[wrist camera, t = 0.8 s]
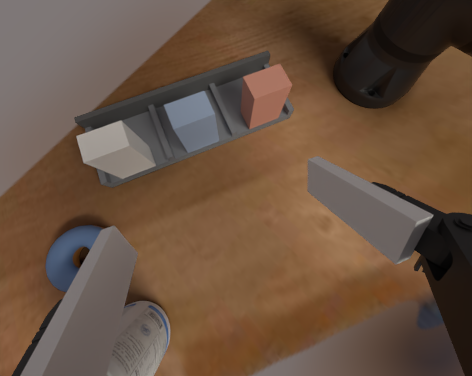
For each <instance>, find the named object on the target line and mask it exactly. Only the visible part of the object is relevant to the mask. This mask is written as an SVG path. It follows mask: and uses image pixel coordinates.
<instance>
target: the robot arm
mask: <svg viewBox="0 0 472 376" xmlns="http://www.w3.org/2000/svg"><path fill="white" fill-rule="evenodd" d="M450 46H453V47H455V48H457V49H459V50H461V51H462V52H464V53H466V54H468V55H470V56H472V0H389V1H388V2H387V4H386V5H385V6H384V8H383V9H382V11H381V12H380V14H379V15H378V17H377V18H376V19H375V21H374V22H373V23H372V24H371V25H370V26H369V27H368V28H367V29H365V30H364V31H363V32H362V33H361V34H360V35H359V36H358V37H357V38H356V39H355V40H353V41H352V42H351V43H350V44H349V45H348V46H347V47H346V48H345V49H344V50H343V52H342V53H341V55H340V56H339V58H338V60H337V61H336V63H335V66H334V72H333V74H334V80H335V83H336V85H337V87H338V89H339V90H340V92H341V93H342V94H343V95H344V96H345V97H346V98H347V99H349V100H350V101H352V102H353V103H355V104H357V105H360V106H363V107H367V108H383V107H387V106H389V105H391V104H393V103H394V102H396V101H397V100H399V99H400V98H401V97H402V96H404V95H405V94H406V93H407V92H408V91H409V90H410V89H411V87H412V86H413V85H414V83H415V82H416V81H417V79H418V78H419V77H420V76H421V74H422V73H423V72H424V70H425V69H426V68H427V66H428V65H429V64H430V62H431V61H432V60H433V59H435V58H436V57H437V56H438V55H440V54H441V53H442V52H443V51H444V50H446V49H447V48H448V47H450ZM308 192H309V193H310V194H311V195H312V196H314V197H315V198H316V199H317V200H318V201H320V202H321V203H322V204H323V205H325V206H326V207H327V208H328V209H329V210H331V211H332V212H333V213H334V214H335V215H337V216H338V217H339V218H340V219H341V220H343V221H344V222H345V223H346V224H347V225H349V226H350V227H351V228H352V229H354V230H355V231H356V232H357V233H358V234H360V235H361V236H362V237H363V238H364V239H366V240H367V241H368V242H369V243H370V244H372V245H373V246H374V247H375V248H376V249H378V250H379V251H380V252H381V253H383V254H384V255H385V256H386V257H387V258H389V259H390V260H391V261H392V262H393V263H395V264H398V263H401V262H403V261H405V260H407V259H410V257H411V255H412V254H413V252H414V250H415V251H417V252H418V253H420V254H421V255H420V257H419V259H418V261H417V262H416V264H415V266H414V271H418V270H419V268H420V267H421V265H422V267H423V271H422V272H424V273H425V275H426V277H427V280H428V282H429V285H430V287H431V290H432V293H433V295H434V298H435V300H436V303H437V305H438V308H439V310H440V313H441V316H442V318H443V321H444V323H445V326H446V328H447V331H448V333H449V336H450V338H451V341H452V344H453V346H454V349H455V351H456V354H457V357H458V359H459V362H460V364H461V367H462V369H463V372H464V374H465V376H472V215H471V214H465V213H449V214H445V213H443V212H441V211H439V210H437V209H434V208H432V207H430V206H428V205H426V204H424V203H422V202H420V201H418V200H416V199H414V198H412V197H410V196H406V195H405V194H403V193H401V192H399V191H398V192H397V191H396V190H395V189H393V188H391V187H389V186H387V185H383V184H379V183H376V182H372V183H370V182H368V181H366V180H364V179H362V178H360V177H358V176H356V175H354V174H352V173H350V172H348V171H346V170H344V169H342V168H340V167H338V166H336V165H334V164H332V163H330V162H328V161H326V160H325V159H323V158H321V157H319V156H317V157H314V158H311V159H308ZM137 255H138V253H137V251H136V250H135V249H134V248H133V247H132V246H131V244H130V243H129V242H128V241H127V240H126V239H125V237H124V236H123V235H122V234H121V233H120V232H119V230H118V229H117V228H116V227H115V226H111V227H108V228H105V229H103V230H101V231H100V233H99V235H98V237H97V239H96V240H95V242H94V244H93V246H92V248H91V249H90V251H89V253H88V255H87V257H86V258H85V260H84V262H83V264H82V266H81V267H80V269H79V271H78V273H77V275H76V276H75V278H74V280H73V282H72V284H71V285H70V287H69V289H68V291H67V293H66V294H65V296H64V298H63V299H61V300H59V302H58V303H57V304H56V305H55V306H54V307H53V309H52V310H51V311H50V312H49V313H48V315H47V316H46V318H45V320H44V321H43V323H42V325H41V327H40V328H39V332H37V333H36V335H35V337H34V338H33V340H32V344H31V345H29V347H28V349H27V350H26V352H25V354H24V356H23V357H22V359H21V361H20V362H19V364H18V366H17V368H16V369H15V371H14V373H13V374H12V376H106V375H107V371H108V367H109V363H110V360H111V356H112V352H113V348H114V344H115V340H116V336H117V333H118V329H119V325H120V321H121V317H122V313H123V309H124V305H125V302H126V298H127V294H128V290H129V286H130V282H131V278H132V274H133V271H134V267H135V263H136V259H137Z"/></svg>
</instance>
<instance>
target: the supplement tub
mask: <svg viewBox="0 0 472 376" xmlns="http://www.w3.org/2000/svg"><path fill="white" fill-rule="evenodd" d="M169 340H170V324H169V320H168V317H167V315H166V314H165V312H164V311H163V310H162V308H160V307H159V306H158V305H157V304H155V303H152V302H149V301H137V302H133V303H130V304H128V305H126V306H124V309H123V313H122V317H121V321H120V325H119V329H118V333H117V336H116V340H115V344H114V348H113V352H112V356H111V360H110V363H109V367H108V371H107V375H106V376H154V374H155V372H156V370H157V368H158V366H159V364H160V362H161V360H162V358H163V356H164V354H165V352H166V350H167V347H168V344H169Z"/></svg>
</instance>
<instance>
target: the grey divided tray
mask: <svg viewBox="0 0 472 376" xmlns="http://www.w3.org/2000/svg"><path fill="white" fill-rule="evenodd" d="M269 58H270V53H269V52H268V51H265V52H263V53H260V54H257V55H254V56H251V57H248V58H245V59H242V60H239V61H237V62H234V63H231V64H228V65H225V66H222V67H219V68H216V69H213V70H211V71H208V72H205V73H202V74H199V75H196V76H193V77H190V78H187V79H185V80H182V81H179V82H176V83H173V84H170V85H167V86H164V87H161V88H158V89H156V90H153V91H150V92H147V93H144V94H141V95H138V96H135V97H132V98H130V99H127V100H124V101H121V102H118V103H115V104H112V105H109V106H106V107H104V108H101V109H98V110H95V111H92V112H89V113H86V114H83V115H81V116H78V117H75V122H76V123H77V124H79V125H80V126H82V127H83V128H85V131H86V133H87V132H90V131H92V130H95V129H98V128H101V127H104V126H106V125H109V124H112V123H115V122H118V121H120V120H121V121H122V122H123V123H125V124H126V125H127V126H128V127H129V128H130V129H131V130H132V131H133V132H134V133H135V134H136V135H137V136H139V137H140V138H141V139H142V140H143V141H144V142H145V143H146V144H147V145H148V146H149V148H150V150H151V153H152V156H153V159H154V161H155V164H156V166H154V167H152V168H149V169H147V170H144V171H141V172H139V173H136V174H134V175H131V176H129V177H126V178H124V179H122V178H119V177H117V176H114V175H112V174H110V173H107V172H105V171H102V170H100V169H97V168H96V169H97V172H98V176H99V179H100V182H101V184H102V185H105V186H108V187H115V186H118V185H120V184H123V183H125V182H128V181H130V180H133V179H135V178H138V177H140V176H143V175H146V174H148V173H151V172H153V171H156V170H158V169H161V168H163V167H166V166H168V165H171V164H174V163H176V162H179V161H181V160H184V159H186V158H189V157H191V156H194V155H196V154H199V153H202V152H204V151H207V150H209V149H212V148H214V147H217V146H219V145H222V144H224V143H227V142H230V141H232V140H235V139H237V138H240V137H242V136H245V135H247V134H250V133H252V132H255V131H257V130H260V129H263V128H265V127H268V126H270V125H273V124H275V123H278V122H280V121H283V120H285V119H288V118H290V116H291V114H292V112H293V110H294V108H293V107H292V105H291V103H290V101H289V99H288V98H287V99H286V101H285V103H284V106H283V108H282V110H281V113H280V115H279V117H278V118H277V119H275V120H272V121H270V122H267V123H264V124H262V125H259V126H257V127H254V128H252V129H249V128H248V126H247V124H246V122H245V120H244V118H243V116H242V114H241V99H242V84H243V77H244V76H247V75H249V74H252V73H255V72H258V71H261V70H263V69H266V68H269V67H270V66H269V64H268V63H269ZM202 91H205V93H206V95H207V98H208V100H209V102H210V104H211V106H212V108H213V111H214V113H215V117H216V123H217V129H218V136H219V141H218V142H216V143H213V144H211V145H208V146H206V147H203V148H200V149H198V150H195V151H193V152H190V153H188V152H187V150H186V149H185V147H184V145H183V144H182V142H181V141H180V139H179V137H178V136H177V134H176V133H175V131H174V130H173V127H172V125H171V122H170V120H169V117H168V115H167V112H166V110H165V107H164V105H165V104H168V103H171V102H174V101H177V100H179V99H182V98H185V97H188V96H191V95H193V94H196V93H199V92H202Z"/></svg>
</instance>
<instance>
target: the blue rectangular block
mask: <svg viewBox="0 0 472 376" xmlns="http://www.w3.org/2000/svg"><path fill="white" fill-rule="evenodd" d="M164 107H165V110H166V112H167V115H168V117H169V120H170V122H171V125H172V127H173V130H174V131H175V133H176V134H177V136H178V137H179V139H180V141H181V142H182V144H183V145H184V147H185V149H186V150H187V152H188V153H190V152H193V151H195V150H198V149H200V148H203V147H206V146H208V145H211V144H213V143H216V142H218V141H219V136H218V129H217V123H216V117H215V113H214V111H213V108H212V106H211V104H210V102H209V100H208V98H207V95H206V93H205V91H202V92H199V93H196V94H193V95H191V96H188V97H185V98H182V99H179V100H177V101H174V102H171V103H168V104H165V105H164Z"/></svg>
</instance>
